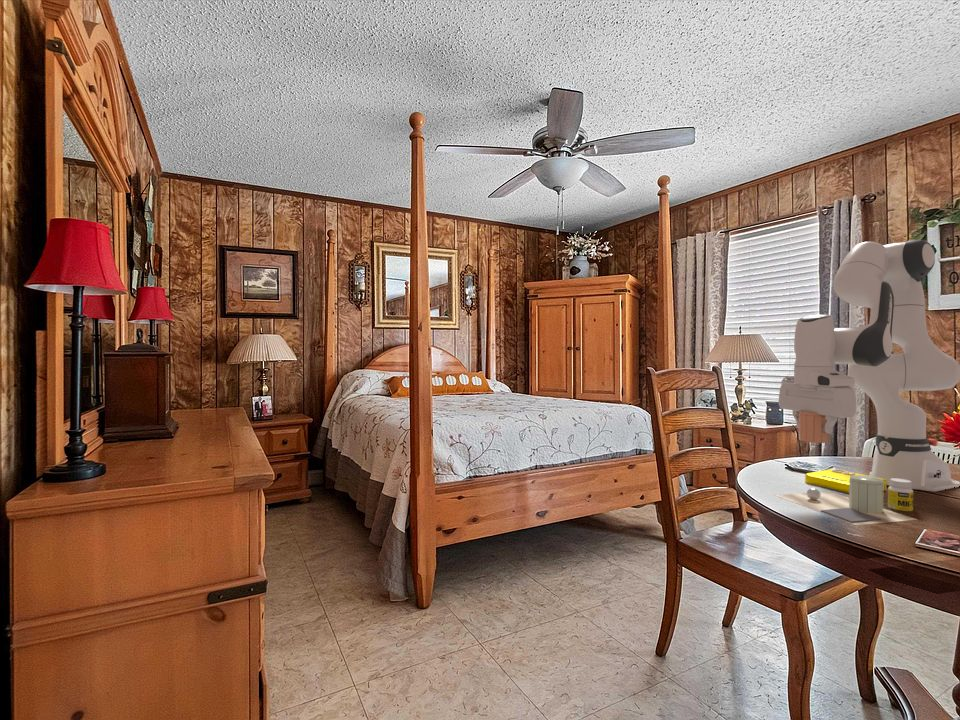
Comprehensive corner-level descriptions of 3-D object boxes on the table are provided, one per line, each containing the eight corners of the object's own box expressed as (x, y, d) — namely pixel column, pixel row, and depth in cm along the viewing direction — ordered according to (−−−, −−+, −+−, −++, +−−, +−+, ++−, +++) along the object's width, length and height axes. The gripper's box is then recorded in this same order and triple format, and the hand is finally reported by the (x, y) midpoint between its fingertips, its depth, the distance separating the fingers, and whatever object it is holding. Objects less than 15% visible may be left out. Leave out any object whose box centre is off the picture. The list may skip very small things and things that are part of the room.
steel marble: (813, 497, 130) (813, 486, 129) (823, 501, 127) (823, 489, 127) (803, 498, 129) (803, 487, 129) (813, 502, 126) (813, 490, 126)
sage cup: (864, 504, 124) (864, 474, 124) (889, 512, 118) (890, 481, 117) (843, 506, 123) (843, 476, 122) (867, 514, 116) (868, 482, 116)
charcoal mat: (848, 509, 120) (848, 507, 120) (880, 520, 112) (880, 518, 112) (820, 511, 119) (820, 510, 119) (851, 522, 111) (851, 521, 111)
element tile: (801, 488, 145) (802, 471, 145) (833, 482, 151) (833, 466, 151) (858, 502, 132) (858, 484, 131) (890, 495, 138) (890, 478, 138)
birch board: (828, 496, 135) (828, 491, 135) (917, 526, 113) (917, 519, 113) (775, 500, 132) (775, 495, 132) (856, 531, 109) (856, 525, 109)
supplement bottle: (897, 517, 119) (898, 482, 118) (882, 510, 123) (882, 477, 123) (918, 517, 118) (918, 482, 118) (902, 510, 123) (902, 477, 123)
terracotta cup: (813, 437, 131) (813, 409, 131) (835, 442, 125) (835, 412, 125) (793, 438, 130) (793, 410, 130) (813, 443, 124) (814, 413, 124)
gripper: (772, 375, 137) (772, 425, 137) (839, 380, 117) (839, 438, 117) (791, 375, 138) (791, 424, 138) (861, 379, 118) (861, 436, 118)
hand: (814, 430), depth 127 cm, fingers closed on terracotta cup, 6 cm apart
